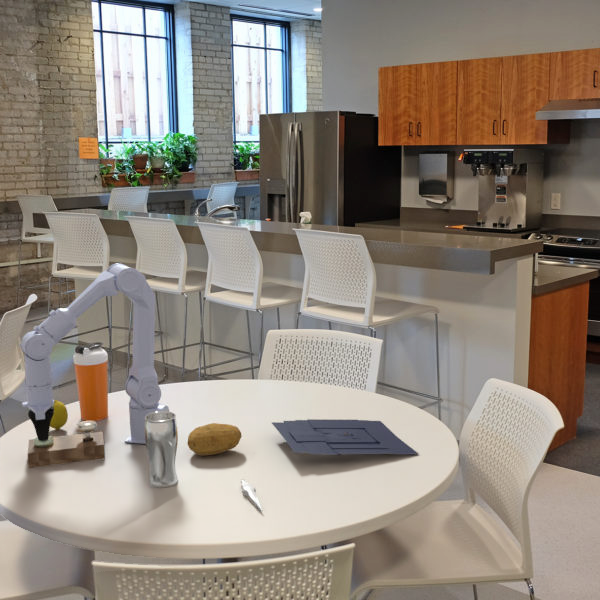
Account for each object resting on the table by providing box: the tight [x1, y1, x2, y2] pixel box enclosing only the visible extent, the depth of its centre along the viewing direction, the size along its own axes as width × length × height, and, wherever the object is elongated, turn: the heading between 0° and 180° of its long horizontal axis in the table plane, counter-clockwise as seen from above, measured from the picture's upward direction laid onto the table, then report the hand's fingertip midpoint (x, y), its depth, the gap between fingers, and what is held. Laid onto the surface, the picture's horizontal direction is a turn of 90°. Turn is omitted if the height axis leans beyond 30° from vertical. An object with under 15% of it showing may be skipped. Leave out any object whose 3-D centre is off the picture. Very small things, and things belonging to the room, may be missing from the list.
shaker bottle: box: [72, 341, 109, 422], centre depth 217 cm, size 9×9×20 cm
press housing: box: [27, 431, 106, 469], centre depth 191 cm, size 17×9×4 cm, turn 106°
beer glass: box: [145, 411, 179, 488], centre depth 175 cm, size 7×7×15 cm
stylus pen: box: [240, 478, 263, 512], centre depth 167 cm, size 15×3×2 cm, turn 19°
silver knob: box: [76, 420, 98, 442], centre depth 192 cm, size 4×4×4 cm
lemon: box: [50, 399, 69, 431], centre depth 209 cm, size 6×6×8 cm
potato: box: [187, 422, 242, 456], centre depth 192 cm, size 9×13×7 cm
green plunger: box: [33, 435, 54, 448], centre depth 190 cm, size 4×4×4 cm
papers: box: [270, 418, 419, 456], centre depth 196 cm, size 24×30×4 cm
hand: (43, 439), depth 189 cm, fingers closed, pressing on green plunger
